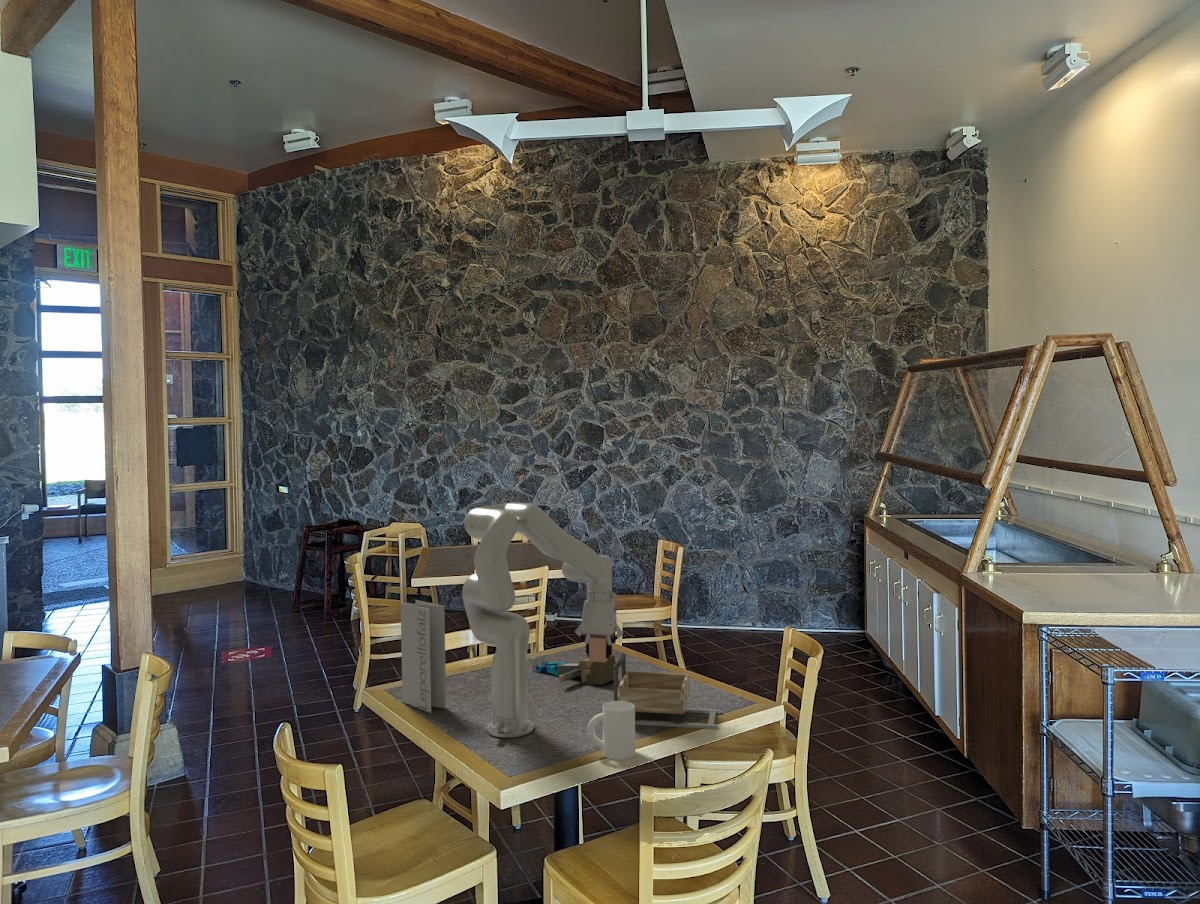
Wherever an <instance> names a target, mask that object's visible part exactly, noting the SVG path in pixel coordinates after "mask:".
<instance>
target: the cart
mask: <svg viewBox="0 0 1200 904" xmlns="http://www.w3.org/2000/svg"><path fill="white" fill-rule="evenodd" d="M626 657H627V654H626V653H624V652H623V653H621V654H620V655H619V657H618V658H617V660H615V662H616V663H615V665H614V666H613V669H614V680H613V691H614V692H613V698H614V699H613V701H627V702H630V703H633V704H634V706H635V712H638V713H653V714H669V718H668V719H669V720H670V722H674V723H676V722H680V720H681V718H682V716H681V715H684V714H685V712H684V711H685V708H687V703H688V699H689V697H690V685H689V684H690V681H689V680H690V673H674V672H673V673H671V672H655V671H654V672H653V671H652V672H649V671H631V670H630V671H629V670H627V669H626V663H627V662H626ZM620 667H621V681H620V682H619V669H620ZM626 670H627V671H626Z"/></svg>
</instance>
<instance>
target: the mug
mask: <svg viewBox="0 0 1200 904" xmlns="http://www.w3.org/2000/svg"><path fill="white" fill-rule="evenodd" d="M635 720H636V717H635V706H634V704H633V703H630V702H627V701H614V700H611V701H608V702H607V701H606V702H605V703H604V704H603V705H602V712H600V713H598V714H596V715H594V716H593V717H592V718H591V719H590V720H589V722H588V724H587V726H586V727H587V728H586V734H587V737H588V739H589V741H590V742H591V743H592V744H593V746H596V747H597V748H600V749H602V751H603V753H602V754H603V756H604V757H605V758H606V759H609V760H612V761H613V760H614V761H624V760H625V761H626V760H629V759H632V758H634V757H635V756H636V725H635ZM601 721H602V739H600V738H599V737H598V735H596V732H595V730H596V729H595V728H596V727H597V725H598V723H601Z"/></svg>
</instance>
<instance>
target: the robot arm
mask: <svg viewBox="0 0 1200 904" xmlns="http://www.w3.org/2000/svg"><path fill="white" fill-rule="evenodd" d="M463 523H464V529H465V531H466V533H467V534H468V535H469V536H470V537H472V538H473V539H477V540H480V541H479V544H478V545H477V548H476V550H475V553H474V558H473V559H474V561H473V565H474V568H475V569H474V570H475V573H472V574H471V575H469V576H468V577H467V578H466V580H465V581H464V583H463V586H462V591H461V592H462V593H461V597H462V602H463V606H464V610H465V612H466V617H467V620H468V623H469V626H470V630H471V633H472V634H473V636H474V638H476V640H477V641H479V642H481V643H483V644H486V645H490V646H494V647H496V649H495V653H494V654H493V657H492V659H491V668H490V669H491V671H490V672H491V673H490V674H491V710H492V711H491V712H492V713H491V715H492V721H491V722H489V723H487V725H486V732H487V733H488V734H489V735H490V736H492V737H496V738H505V739H508V738H509V739H510V738H511V739H512V738H520V737H521V736H526V735H528V734H530V733H531V732H533V730H534V725H535V724H534V723H533V722H532V721H531V720H529V718H528V709H529V708H528V707H529V706H528V668H527V667H528V665H527V664H528V648H529V641H530V636H531V629H530V624H529V623H528V621H527V619H526V618H525V617H524V616H522V615H521V614H518V613H515V612H512V611H509V610H511V609H512V608H513V607H514V605H515V601H516V591H515V587H514V584H513V580H512V578H511V573H510V569H509V566H508V560H507V553H508V548H509V547H510V544H511V542H512V541H513V539H514V537H515V536H516V534H521V535H523V536H524V537H526V539H527V540H528V541H530V543H532V544H533V545H534V546H535V547H536V548H537V549H538V550H539V551H540V552H541V553H542V554H543V555H545V556H547V557H549V558H552V559H553V560H557V561H560V562H563V563H562V565H561V572H562V575H563V577H564V578H565V579H566V580H567V581H570V582H574V583H580V584H586V599H585V600H584V602H583V608H582V617H581V623H580V624H579V626H578V627H577V628H576V629H575V630H574V633H575V634H576V635H577V636H579V637H580V639H581V640H582V641H583V642H584V644H585V654H586V655H587V658H589V638H590V637H591V636H592V635H606V639H607V645H606V658H607V659H609V657H610V656H613V644H614V643H615V642H616V641H617V640H618V639H619V638H621V637H622V636H623V635H624V631H623V630H622V629H621V627H620V626H619V625H618V621H617V619H618V618H617V610H616V609H617V608H616V601H615V600H613V599H614V598H615V599H616V598H617V593H616V592H613V589H612V586H613V582H612V581H613V579H612V578H613V577H612V576H613V575H612V574H613V569H612V568H613V561H612V557H611V556H609V555H606V554H598V553H597V552H596V551H595V550H594V549H593V548H591V547H590V546H589V545H587V544H586V543H584V542H582V541H581V540H578V539H577V538H575V536H572V535H570V534H569V533H567V532H566V531H564V530H563V529H562V528H561V527H560V526H559V525H558V524H557V523H556V522H555V521H554V520H553V519H552V518H551V517H550V516H549V515H548V514H547V513H546V512H545V511H544V510H543V509H541V507H540V506H538V505H536V504H533V503H528V502H516V501H515V502H514V501H513V502H505V503H504V502H503V503H499V504H493V505H492V504H490V505H485V506H479V507H475V508H473V509H471V510H470V511H468V512H467V514H466V516H465V517H464V522H463ZM615 632H616V634H615ZM614 634H615V635H614ZM613 635H614V636H613Z"/></svg>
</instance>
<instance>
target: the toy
mask: <svg viewBox="0 0 1200 904" xmlns="http://www.w3.org/2000/svg"><path fill="white" fill-rule="evenodd" d="M539 658H540V659H539V660H540V664H539V662H538V658H537V656H534V657H532V658H530V664H531V671H532V672H534V671H536V672H535V673H552V675H553V676H558V679H559V680H558V681H559V683H564V682H566V681H569V680H572V679H574V678H577V677H580V679H581V684H584V685H601V686H602V685H605V684H607V683H609V682H612V681H614V669H613V666H614V665H615V663H616V656H615V655H610V657H609V659H608V660H607V661H606V662H589V658H588V657H586V658H584V659H580V660H577V661H572V660H571V661H570V660H568V661H565V662H554V661H553V662H551V661H550V662H549V661H548V659H547V657H546V654H545V653H543V654H541V655H539Z"/></svg>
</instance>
